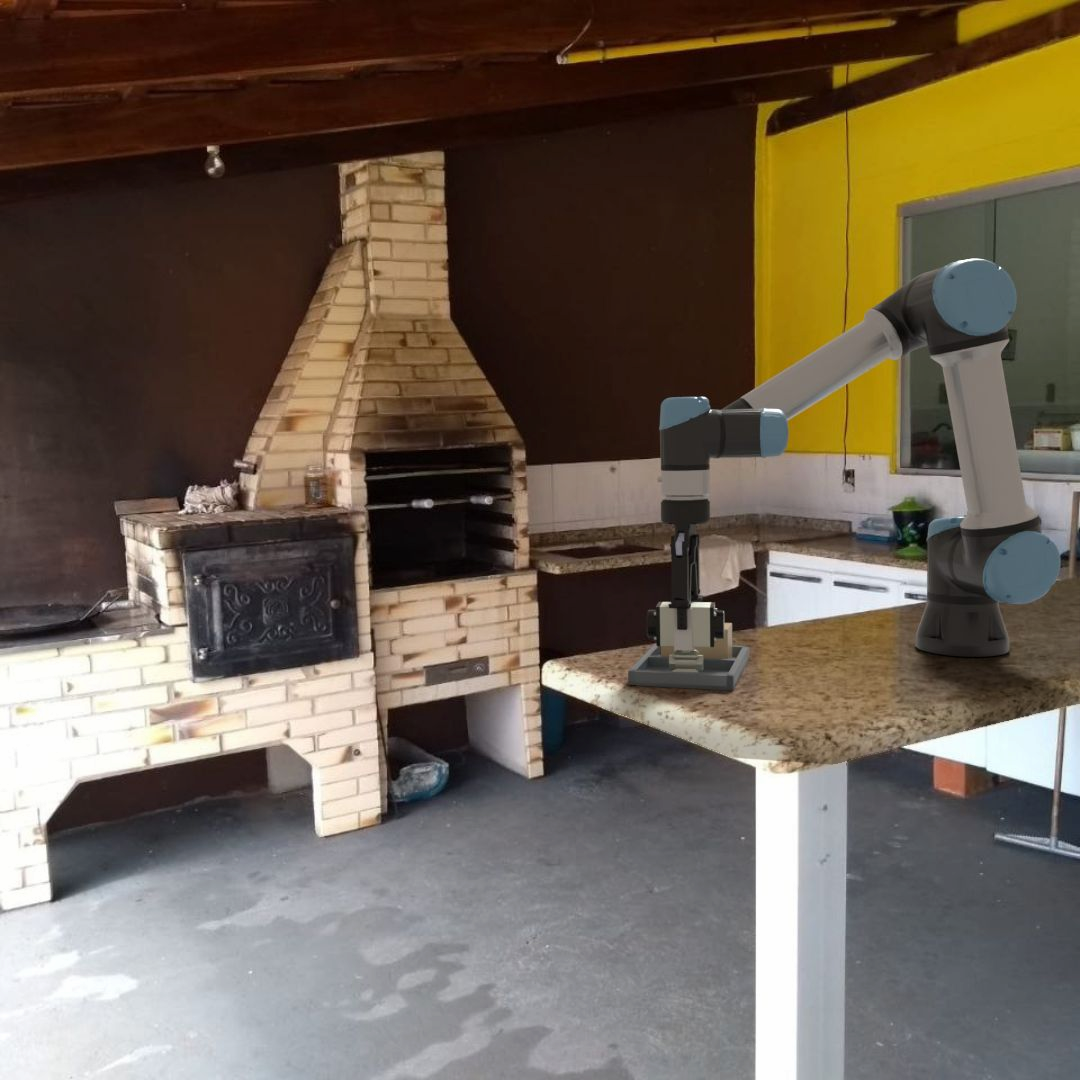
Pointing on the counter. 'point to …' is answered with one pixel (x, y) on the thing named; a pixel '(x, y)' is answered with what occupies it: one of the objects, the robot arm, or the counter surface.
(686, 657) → the pneumatic valve
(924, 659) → the counter surface
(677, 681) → the bay tray
